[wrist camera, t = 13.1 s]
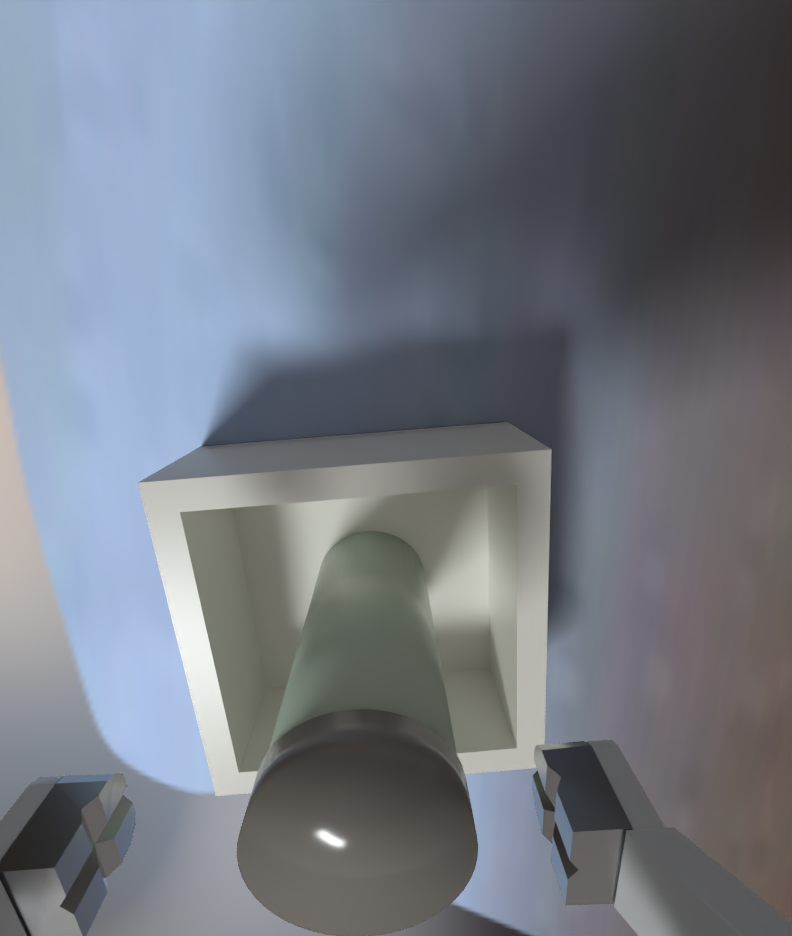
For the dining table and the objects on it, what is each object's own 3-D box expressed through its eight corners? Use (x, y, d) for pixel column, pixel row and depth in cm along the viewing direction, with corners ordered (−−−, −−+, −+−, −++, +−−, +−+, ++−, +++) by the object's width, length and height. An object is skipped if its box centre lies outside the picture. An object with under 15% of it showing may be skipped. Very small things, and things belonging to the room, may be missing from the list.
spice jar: (309, 533, 18) (215, 774, 8) (423, 524, 18) (474, 752, 8) (323, 632, 19) (258, 945, 9) (430, 623, 19) (480, 926, 9)
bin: (200, 446, 17) (137, 482, 13) (507, 422, 17) (551, 449, 13) (251, 697, 20) (216, 796, 16) (508, 675, 20) (544, 767, 16)
